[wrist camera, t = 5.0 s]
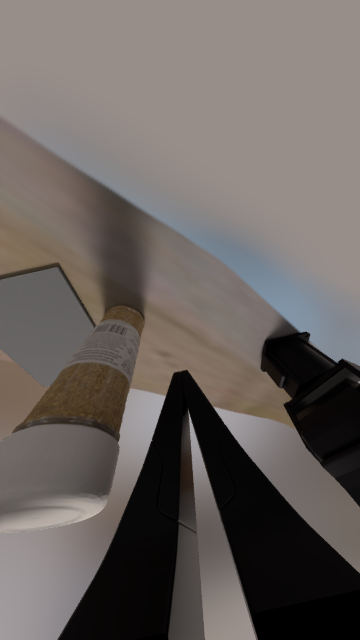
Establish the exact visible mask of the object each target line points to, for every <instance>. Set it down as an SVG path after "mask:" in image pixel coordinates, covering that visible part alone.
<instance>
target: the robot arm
mask: <svg viewBox="0 0 360 640" xmlns="http://www.w3.org/2000/svg"><path fill="white" fill-rule="evenodd" d="M309 337H310V334H309V333H308V332H302V333H298V334H293V335H289V336H284V337H280V338H275V339H271V340H267V341H266V342H265V344H264V351H263V357H262V363H261V370H262V371H263V372H267V373H268V375H269V376H270V377H271V378H272V380H273V381H274V382H275V383H276V385H277V386H278V387H279V388H281V389H282V388H283V389H284V390H285V391H286V392H287V393H288V395H289V396H290V397H291V398H292V399H291V400H290V401H289V402H286V403H285V404H284V407H285V409H286V411H287V413H288V414H289V416H290V418H291V420H292V422H293V424H294V426H295V428H296V429H297V431H298V433H299V435H300V437H301V439H302V441H303V442H304V444H305V446H306V448H307V449H308V451H309V452H311V453H312V455H313V456H314V457H315V458H316V459H317V460H318V461H319V462H320V464H321V466H323V468H324V469H325V470H326V471H328V472H329V473H330V474H331V475H332V476H333V477H334V478H335V479H336V480H337V481H338V482H339V483H340V485H341V486H342V487H343V488H344V489H345V490H346V491H347V492H348V493H349V495H350V496H351V497H352V498H353V499H354V501H355V502H356V503H357V504H358V506H360V384H359V383H357V382H358V381H360V366H358V365H356V364H354V363H351V362H349V361H347V360H344V359H341V360H340V361H338V363H337V362H335V361H334V360H332V359H331V358H329V357H328V356H327V355H325V354H324V353H322V352H321V351H319V350H318V349H316V348H315V347H313V346H312V345H310V344H309V343H308V340H309ZM188 410H189V413H188ZM189 414H190V417H191V420H192V424H193V427H194V430H195V434H196V437H197V441H198V444H199V447H200V451H201V454H202V457H203V461H204V464H205V468H206V471H207V475H208V478H209V481H210V484H211V488H212V491H213V495H214V498H215V502H216V505H217V508H218V512H219V515H220V518H221V522H222V525H223V529H224V532H225V535H226V539H227V542H228V546H229V549H230V552H231V556H232V559H233V563H234V566H235V569H236V573H237V576H238V579H239V582H240V586H241V590H242V593H243V596H244V599H245V603H246V607H247V610H248V613H249V617H250V620H251V623H252V627H253V630H254V634H255V637H256V640H360V573H359V572H358V571H356V569H354V568H353V567H352V566H351V565H350V564H349V563H348V562H347V561H346V560H345V559H344V558H343V557H342V556H341V555H340V554H339V553H338V552H337V551H336V550H335V549H334V548H332V547H331V546H330V545H329V544H328V543H327V542H326V541H325V540H324V539H323V538H322V537H321V536H320V535H319V534H318V533H316V531H315V530H314V529H313V528H312V527H311V526H309V524H307V522H306V521H305V520H304V519H303V518H302V517H301V516H300V515H299V514H298V513H297V512H296V511H295V510H294V509H293V507H292V506H291V505H290V504H289V503H288V502H287V501H286V500H285V498H284V497H283V496H282V495H281V494H280V493H279V491H278V490H277V489H276V488H275V487H274V485H272V483H271V482H270V481H269V480H268V478H267V477H266V476H265V475H264V474H263V472H262V471H261V470H260V469H259V468H258V467H257V465H256V464H255V463H254V462H253V461H252V459H251V458H250V457H249V456H248V455H247V453H246V452H245V451H244V450H243V448H242V447H241V446H240V444H239V443H238V442H237V440H236V439H235V438H234V436H233V435H232V434H231V432H230V431H229V429H228V428H227V426H226V425H225V424H224V422H223V421H222V419H221V418H220V416H219V415H218V413H217V412H216V411H215V409H214V408H213V406H212V405H211V403H210V402H209V400H208V399H207V398H206V396H205V395H204V393H203V392H202V390H201V389H200V387H199V386H198V385H197V383H196V382H195V380H194V379H193V377H192V376H191V374H190V373H189V372H188V370H184V371H181V372H175V373H174V374H173V376H172V379H171V382H170V386H169V389H168V392H167V395H166V398H165V401H164V404H163V407H162V410H161V413H160V416H159V419H158V423H157V425H156V429H155V431H154V435H153V438H152V441H151V443H150V447H149V450H148V453H147V455H146V458H145V461H144V464H143V467H142V469H141V472H140V475H139V477H138V480H137V482H136V485H135V487H134V489H133V492H132V494H131V497H130V499H129V501H128V504H127V506H126V508H125V511H124V513H123V516H122V518H121V520H120V523H119V525H118V528H117V530H116V533H115V535H114V537H113V539H112V542H111V544H110V546H109V548H108V550H107V553H106V555H105V557H104V559H103V561H102V563H101V565H100V567H99V569H98V571H97V573H96V574H95V576H94V578H93V580H92V582H91V584H90V585H89V587H88V589H87V590H86V592H85V594H84V595H83V597H82V599H81V600H80V602H79V604H78V606H77V607H76V609H75V611H74V613H73V614H72V616H71V618H70V619H69V621H68V623H67V624H66V626H65V628H64V629H63V631H62V633H61V634H60V636H59V638H58V640H205V637H204V623H203V609H202V595H201V581H200V567H199V553H198V539H197V533H196V532H197V525H196V511H195V497H194V483H193V470H192V454H191V440H190V426H189Z"/></svg>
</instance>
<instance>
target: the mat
mask: <svg viewBox="0 0 360 640" xmlns="http://www.w3.org/2000/svg"><path fill="white" fill-rule="evenodd" d="M94 328H95V325H94V323H93V322H92V320H91V318H90V317H89V315H88V313H87V312H86V310H85V308H84V307H83V305H82V303H81V302H80V300H79V298H78V297H77V295H76V293H75V292H74V290H73V288H72V287H71V285H70V283H69V282H68V280H67V278H66V277H65V275H64V273H63V272H62V270H61V268H60V267H55V268H51V269H46V270H42V271H37V272H32V273H28V274H23V275H19V276H14V277H10V278H5V279H1V280H0V349H1V350H2V351H3V352H5V353H6V354H7V355H8V356H9V357H10V358H11V359H12V360H14V361H15V362H16V363H17V364H18V365H19V366H20V367H21V368H23V369H24V370H25V371H26V372H27V373H28V374H29V375H31V376H32V377H33V378H34V379H35V380H36V381H37V382H39V383H40V384H41V385H42V386H43V387H46V386H50V385H51V384H52V383H53V382H54V381H55V379H56V378H57V377H58V375H59V374H60V372H61V370H62V369H63V367H64V366H65V364H66V363H67V362H68V361H69V359H70V358H71V357H72V356H73V354H74V353H75V352H76V351H77V349H78V348H79V347H80V345H81V344H82V343H83V342H84V340H85V339H86V338H87V337H88V335H89V334H90V333H91V332H92V330H93V329H94Z"/></svg>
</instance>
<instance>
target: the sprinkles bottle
mask: <svg viewBox="0 0 360 640" xmlns="http://www.w3.org/2000/svg"><path fill="white" fill-rule="evenodd" d="M143 328H144V320H143V318H142V316H141V315H140V313H139V312H138V311H136V310H135V309H134V308H131V307H128V306H115V307H113V308H111V309H109V310H108V311H107V312H106V313H105V315H104V317H103V319H102V320H101V322H100V323H99V324H98V325H96V327H95V328H94V329H93V330H92V332H91V333H90V334H89V335H88V337H87V338H86V339H85V340H84V342H83V343H82V344H81V345H80V347H79V348H78V349H77V351H76V352H75V353H74V354H73V356H72V357H71V358H70V359H69V361H68V362H67V363H66V364H65V366H64V367H63V369H62V370H61V372H60V374H59V375H58V377H57V378H56V379H55V381H54V382H53V383H52V384H51V386H50V388H49V389H48V390H47V391H46V392H45V394H44V395H43V396H42V398H41V399H40V401H39V402H38V403H37V404H36V406H35V407H34V408H33V410H32V411H31V413H30V414H29V415H28V417H27V418H26V419H25V420H24V422H22V423H21V424H20V425H18V426H17V427H16V428H15V429H14V430H13V432H12V434H11V435H10V436H8V437H6V438H5V439H3V440H2V441H1V442H0V533H15V532H26V531H37V530H43V529H50V528H55V527H59V526H64V525H67V524H72V523H75V522H79V521H82V520H85V519H88V518H90V517H92V516H94V515H96V514H97V513H99V512H100V511H101V510H102V509H103V508H104V507H105V505H106V504H107V502H108V499H109V496H110V492H111V487H112V483H113V478H114V474H115V469H116V465H117V460H118V455H119V445H118V441H119V438H120V434H119V431H120V427H121V422H122V417H123V413H124V410H125V403H126V399H127V395H128V393H129V390H130V386H131V381H132V377H133V372H134V367H135V363H136V358H137V354H138V350H139V345H140V338H141V333H142V331H143Z"/></svg>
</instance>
